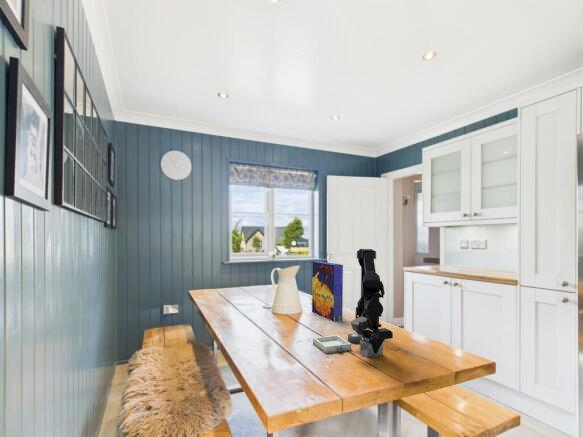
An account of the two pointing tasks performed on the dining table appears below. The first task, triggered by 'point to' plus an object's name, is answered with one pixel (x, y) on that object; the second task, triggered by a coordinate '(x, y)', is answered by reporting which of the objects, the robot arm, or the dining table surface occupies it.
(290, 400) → the dining table surface
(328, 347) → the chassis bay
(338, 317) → the cereal box
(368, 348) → the grey stepped block
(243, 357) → the dining table surface
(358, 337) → the spare wheel
